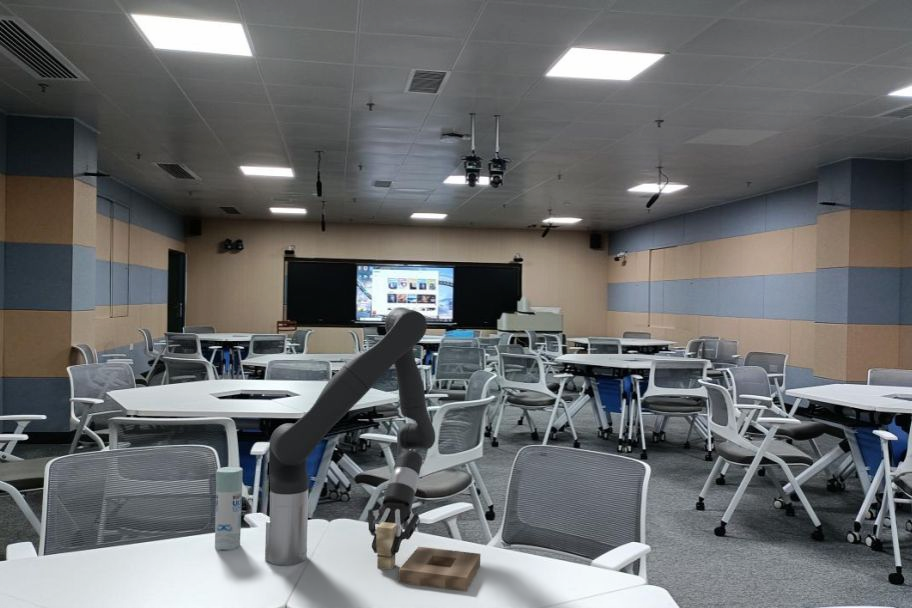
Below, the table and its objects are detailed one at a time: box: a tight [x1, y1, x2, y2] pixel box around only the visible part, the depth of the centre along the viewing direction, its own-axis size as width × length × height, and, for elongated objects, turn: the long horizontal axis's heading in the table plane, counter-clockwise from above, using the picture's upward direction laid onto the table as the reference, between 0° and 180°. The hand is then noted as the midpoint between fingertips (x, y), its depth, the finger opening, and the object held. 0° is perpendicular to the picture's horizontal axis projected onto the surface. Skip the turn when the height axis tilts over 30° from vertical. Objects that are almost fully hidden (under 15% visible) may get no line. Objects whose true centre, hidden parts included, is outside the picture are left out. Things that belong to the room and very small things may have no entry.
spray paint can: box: [214, 466, 244, 551], centre depth 168 cm, size 6×6×20 cm
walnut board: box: [398, 546, 482, 592], centre depth 153 cm, size 16×15×3 cm
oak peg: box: [376, 522, 397, 571], centre depth 157 cm, size 4×4×10 cm
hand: (384, 552), depth 155 cm, fingers closed on oak peg, 4 cm apart
